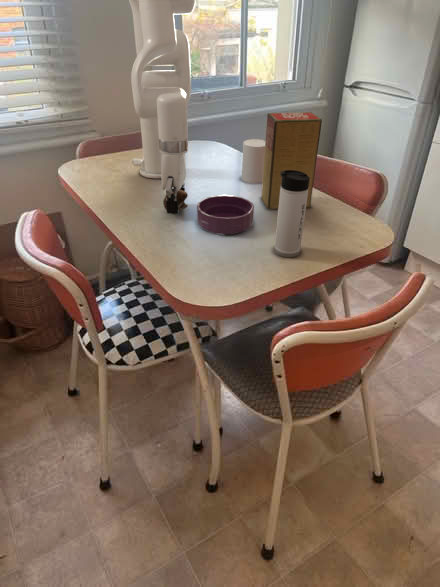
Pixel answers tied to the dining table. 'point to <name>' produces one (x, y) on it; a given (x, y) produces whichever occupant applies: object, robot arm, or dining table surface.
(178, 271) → the dining table surface
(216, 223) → the bowl
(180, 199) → the mushroom
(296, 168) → the food packaging
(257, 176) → the white cylinder
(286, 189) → the travel mug
